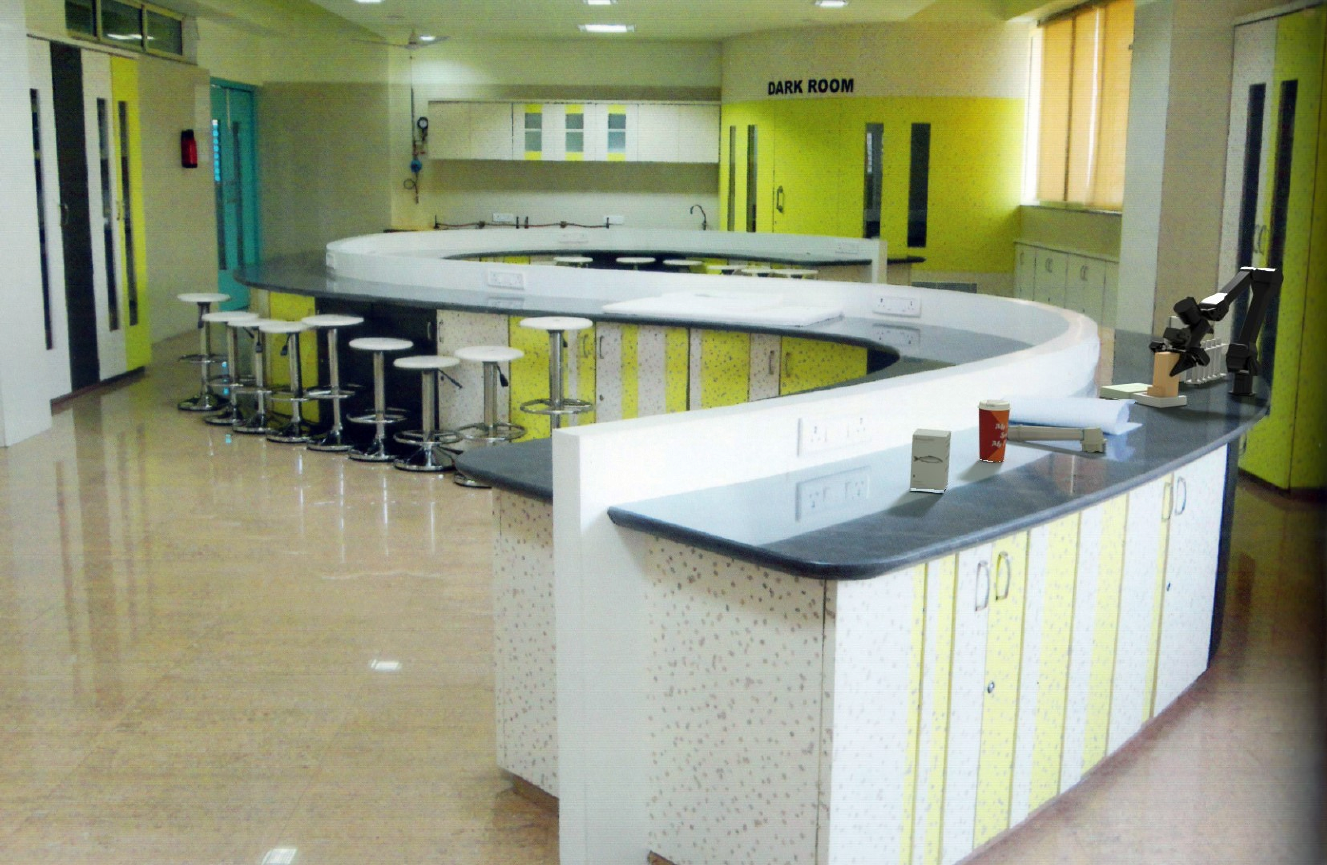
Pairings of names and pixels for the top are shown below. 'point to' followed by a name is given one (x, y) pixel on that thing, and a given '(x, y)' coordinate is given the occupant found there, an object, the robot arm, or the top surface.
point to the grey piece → (1060, 435)
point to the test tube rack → (1213, 368)
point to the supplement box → (930, 459)
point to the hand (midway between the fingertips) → (1162, 374)
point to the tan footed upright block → (1164, 376)
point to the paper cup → (993, 429)
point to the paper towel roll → (1172, 323)
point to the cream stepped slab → (1140, 395)
